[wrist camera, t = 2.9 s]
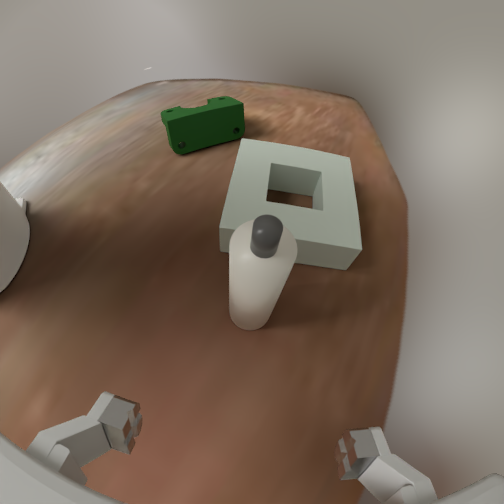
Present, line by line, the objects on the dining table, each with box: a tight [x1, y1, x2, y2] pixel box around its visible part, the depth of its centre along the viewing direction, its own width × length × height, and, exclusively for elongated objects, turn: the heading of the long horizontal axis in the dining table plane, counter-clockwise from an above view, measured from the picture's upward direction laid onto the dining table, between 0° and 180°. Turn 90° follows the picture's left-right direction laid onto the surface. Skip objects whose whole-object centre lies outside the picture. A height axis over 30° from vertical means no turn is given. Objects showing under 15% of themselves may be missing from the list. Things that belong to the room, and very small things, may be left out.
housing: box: [219, 138, 362, 270], centre depth 31 cm, size 14×14×4 cm
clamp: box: [161, 96, 245, 154], centre depth 37 cm, size 12×6×9 cm, turn 111°
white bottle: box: [229, 214, 297, 330], centre depth 20 cm, size 4×4×14 cm
